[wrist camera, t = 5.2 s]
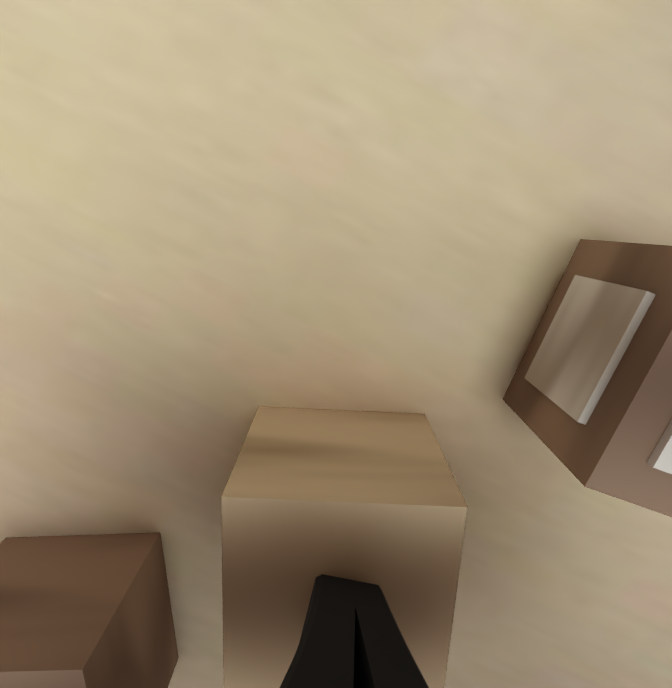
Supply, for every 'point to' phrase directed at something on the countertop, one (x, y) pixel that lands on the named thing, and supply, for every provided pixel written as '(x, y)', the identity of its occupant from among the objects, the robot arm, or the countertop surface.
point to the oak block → (337, 533)
